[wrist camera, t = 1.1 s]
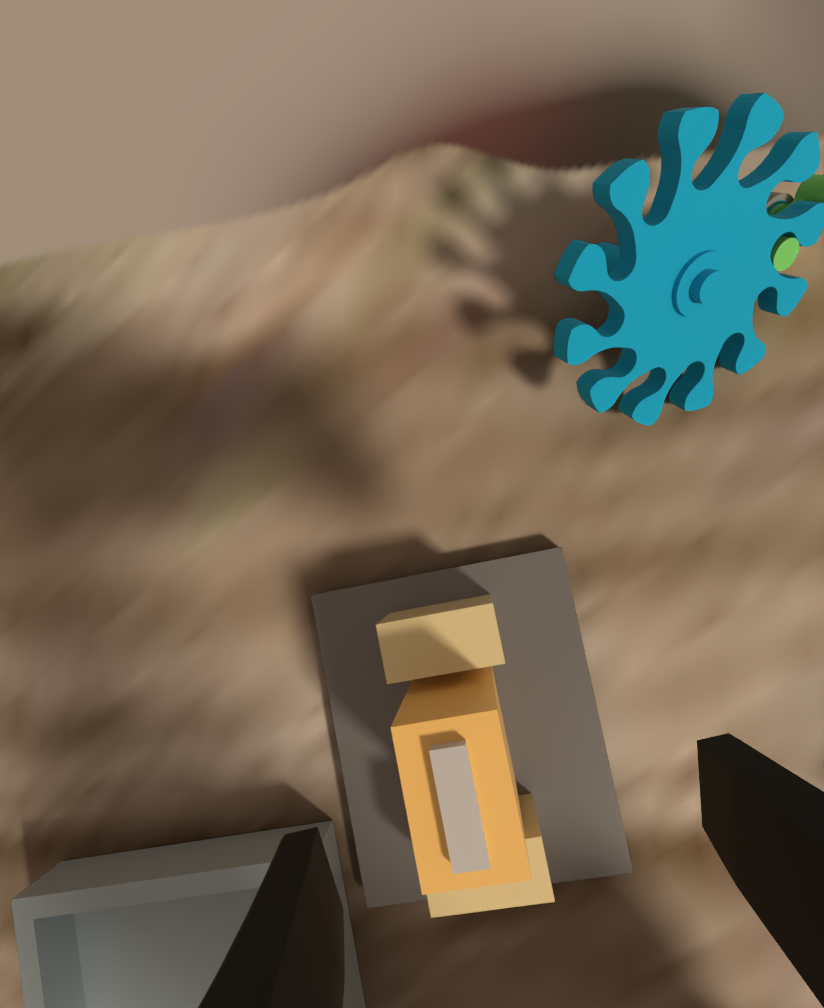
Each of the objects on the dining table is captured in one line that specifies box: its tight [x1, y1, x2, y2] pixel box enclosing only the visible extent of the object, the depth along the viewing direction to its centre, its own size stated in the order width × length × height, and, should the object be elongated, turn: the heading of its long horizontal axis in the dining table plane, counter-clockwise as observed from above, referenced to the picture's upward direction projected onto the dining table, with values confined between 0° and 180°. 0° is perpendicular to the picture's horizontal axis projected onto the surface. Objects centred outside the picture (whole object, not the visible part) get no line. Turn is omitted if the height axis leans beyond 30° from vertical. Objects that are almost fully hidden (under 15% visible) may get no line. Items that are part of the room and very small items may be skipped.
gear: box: [554, 93, 824, 426], centre depth 20 cm, size 11×6×10 cm
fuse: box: [391, 666, 532, 895], centre depth 18 cm, size 4×3×6 cm, turn 11°
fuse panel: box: [311, 547, 633, 918], centre depth 20 cm, size 12×10×4 cm
